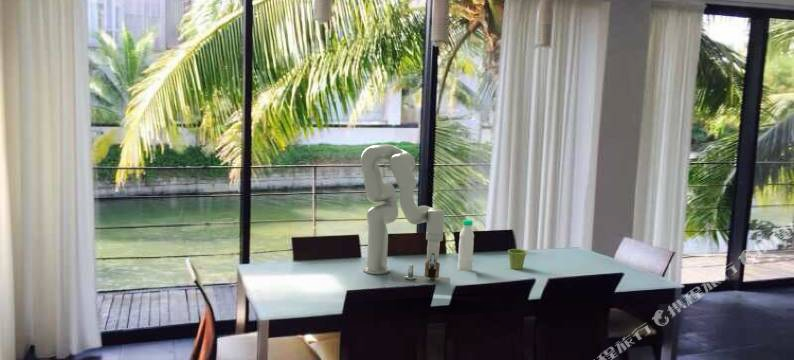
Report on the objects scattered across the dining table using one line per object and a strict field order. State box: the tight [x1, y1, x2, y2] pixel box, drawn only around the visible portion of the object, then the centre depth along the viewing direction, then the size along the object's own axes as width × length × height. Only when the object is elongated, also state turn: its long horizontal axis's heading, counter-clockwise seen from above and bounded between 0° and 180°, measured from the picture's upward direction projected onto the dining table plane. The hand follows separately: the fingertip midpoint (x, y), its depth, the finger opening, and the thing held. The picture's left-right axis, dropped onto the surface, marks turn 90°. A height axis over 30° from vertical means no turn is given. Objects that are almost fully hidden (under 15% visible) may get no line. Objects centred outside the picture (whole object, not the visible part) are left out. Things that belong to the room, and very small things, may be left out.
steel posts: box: [404, 263, 435, 281], centre depth 301 cm, size 5×14×7 cm, turn 85°
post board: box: [391, 273, 451, 286], centre depth 301 cm, size 12×26×2 cm, turn 85°
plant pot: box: [507, 248, 528, 270], centre depth 334 cm, size 9×9×9 cm
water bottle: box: [457, 219, 475, 272], centre depth 324 cm, size 7×7×25 cm
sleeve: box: [424, 261, 441, 278], centre depth 300 cm, size 6×6×6 cm
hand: (431, 274), depth 301 cm, fingers closed on sleeve, 6 cm apart
